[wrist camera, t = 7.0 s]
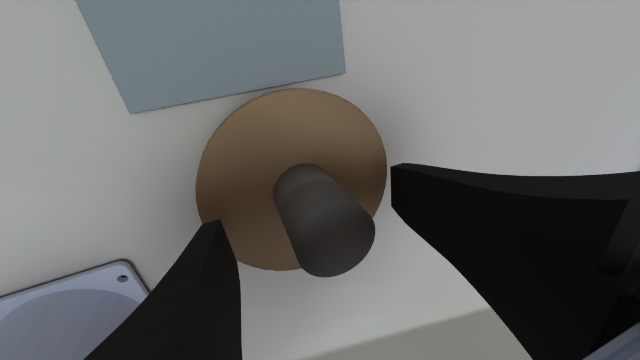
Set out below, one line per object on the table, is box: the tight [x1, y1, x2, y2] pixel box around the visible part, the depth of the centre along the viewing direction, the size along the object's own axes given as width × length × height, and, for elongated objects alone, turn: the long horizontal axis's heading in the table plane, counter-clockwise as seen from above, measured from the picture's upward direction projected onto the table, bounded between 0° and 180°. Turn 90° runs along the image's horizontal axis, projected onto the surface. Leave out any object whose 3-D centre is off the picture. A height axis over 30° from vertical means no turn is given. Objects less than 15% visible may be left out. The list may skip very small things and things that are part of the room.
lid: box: [196, 89, 387, 277], centre depth 10 cm, size 9×9×5 cm
